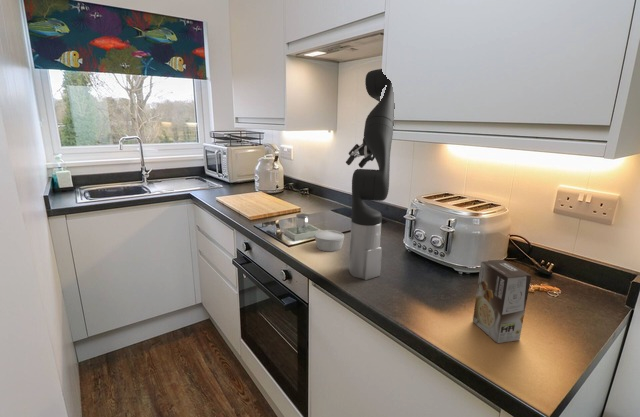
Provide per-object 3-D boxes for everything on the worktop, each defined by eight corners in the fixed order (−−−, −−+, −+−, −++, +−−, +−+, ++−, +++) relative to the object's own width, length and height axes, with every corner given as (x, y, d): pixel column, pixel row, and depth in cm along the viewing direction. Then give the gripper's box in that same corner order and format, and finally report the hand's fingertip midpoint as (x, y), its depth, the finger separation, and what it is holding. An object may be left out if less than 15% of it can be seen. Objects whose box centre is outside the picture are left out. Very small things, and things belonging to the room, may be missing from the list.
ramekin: (348, 245, 134) (348, 232, 132) (337, 255, 124) (337, 241, 122) (321, 240, 138) (322, 228, 137) (309, 249, 128) (309, 236, 127)
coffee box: (521, 340, 78) (534, 275, 73) (497, 344, 76) (508, 278, 72) (493, 317, 86) (502, 258, 82) (470, 320, 85) (479, 260, 81)
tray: (321, 235, 143) (321, 230, 142) (294, 241, 136) (294, 235, 136) (309, 229, 151) (309, 224, 150) (283, 234, 144) (283, 228, 144)
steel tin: (311, 234, 143) (311, 215, 141) (300, 236, 140) (300, 217, 138) (304, 230, 147) (304, 212, 145) (294, 232, 144) (294, 214, 142)
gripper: (360, 129, 150) (338, 157, 147) (383, 131, 139) (359, 161, 136) (369, 141, 155) (347, 168, 151) (391, 144, 143) (369, 173, 140)
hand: (353, 165), depth 144 cm, fingers open, 8 cm apart
